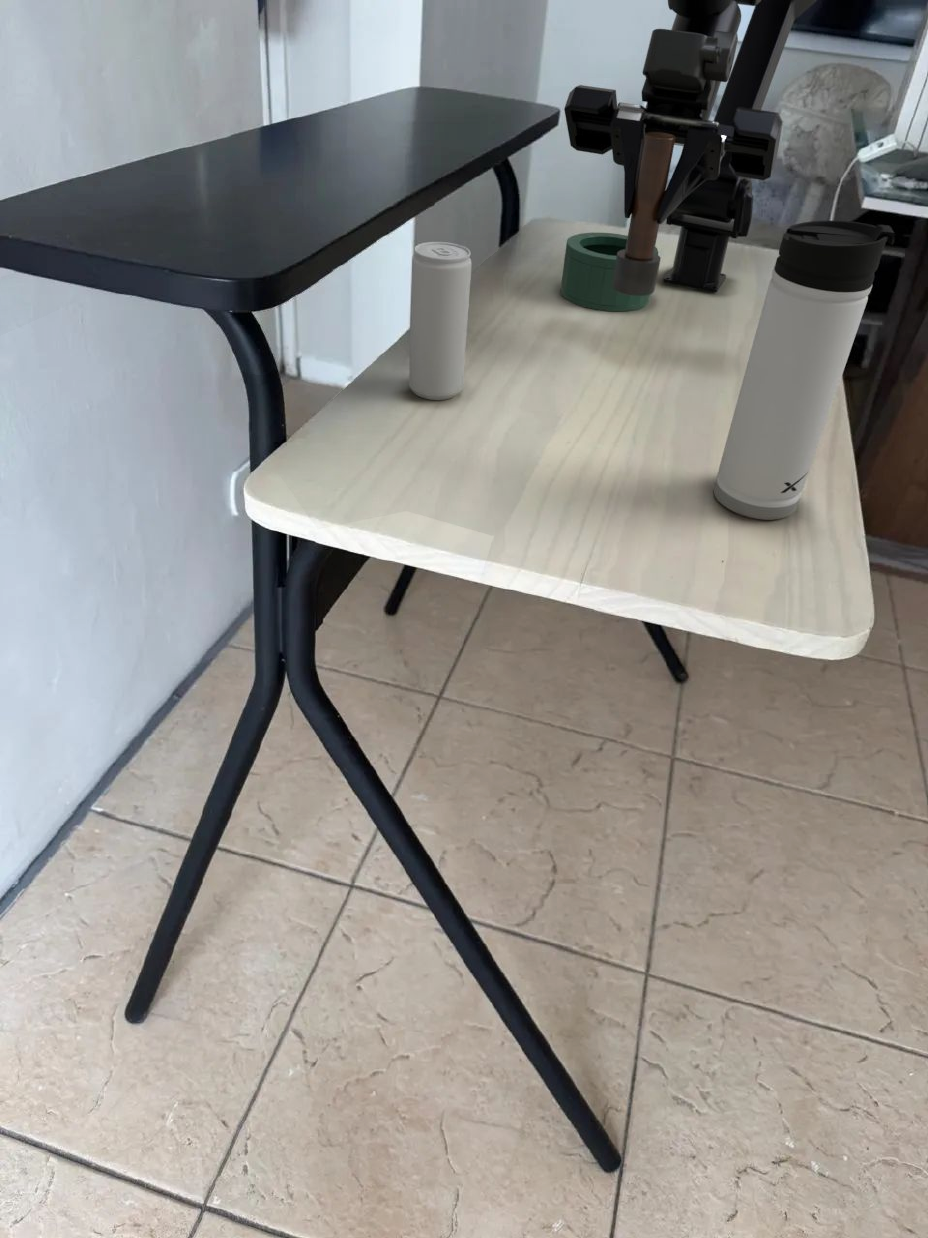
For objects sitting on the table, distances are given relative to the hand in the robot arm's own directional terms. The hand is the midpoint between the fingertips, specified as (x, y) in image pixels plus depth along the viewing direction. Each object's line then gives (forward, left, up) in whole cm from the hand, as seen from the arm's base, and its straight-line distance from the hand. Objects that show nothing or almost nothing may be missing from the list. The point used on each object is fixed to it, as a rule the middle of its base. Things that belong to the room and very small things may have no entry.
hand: (642, 218), depth 81 cm
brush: (-1, 0, -7) cm, 7 cm away
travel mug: (+21, +17, -13) cm, 30 cm away
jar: (-18, -6, -13) cm, 23 cm away
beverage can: (+16, -12, -13) cm, 24 cm away
